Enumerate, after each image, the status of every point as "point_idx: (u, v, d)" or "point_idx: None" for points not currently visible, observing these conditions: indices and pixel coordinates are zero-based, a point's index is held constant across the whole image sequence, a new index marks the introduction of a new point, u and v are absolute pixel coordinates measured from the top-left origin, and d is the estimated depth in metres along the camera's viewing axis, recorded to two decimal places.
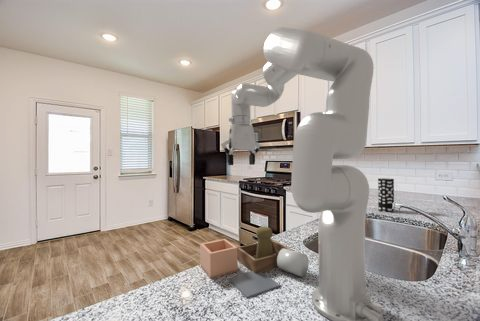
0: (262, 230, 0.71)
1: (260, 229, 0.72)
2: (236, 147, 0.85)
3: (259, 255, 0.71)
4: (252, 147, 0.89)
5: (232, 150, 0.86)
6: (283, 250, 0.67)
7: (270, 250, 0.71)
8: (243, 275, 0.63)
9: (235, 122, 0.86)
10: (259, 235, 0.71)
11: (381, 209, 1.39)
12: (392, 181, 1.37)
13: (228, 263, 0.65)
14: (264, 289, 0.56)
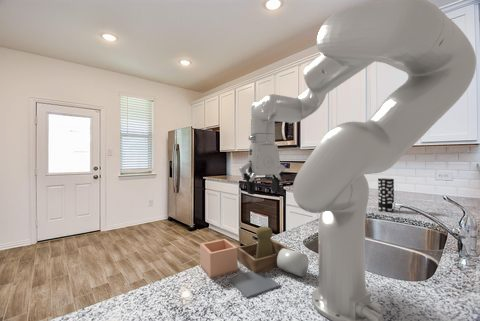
0: (262, 230, 0.71)
1: (260, 229, 0.72)
2: (258, 173, 0.69)
3: (259, 255, 0.71)
4: (277, 171, 0.72)
5: (253, 176, 0.69)
6: (283, 250, 0.67)
7: (270, 250, 0.71)
8: (243, 275, 0.63)
9: (257, 141, 0.70)
10: (259, 235, 0.71)
11: (381, 209, 1.39)
12: (392, 181, 1.37)
13: (228, 263, 0.65)
14: (264, 289, 0.56)
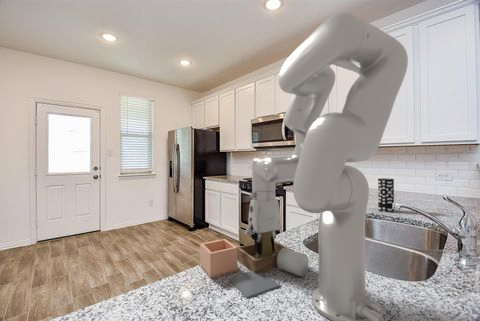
0: None
1: None
2: (259, 231, 0.69)
3: (259, 255, 0.71)
4: (278, 227, 0.72)
5: (259, 236, 0.70)
6: (283, 250, 0.67)
7: (270, 250, 0.71)
8: (243, 275, 0.63)
9: (257, 199, 0.70)
10: None
11: (381, 209, 1.39)
12: (392, 181, 1.37)
13: (228, 263, 0.65)
14: (264, 289, 0.56)
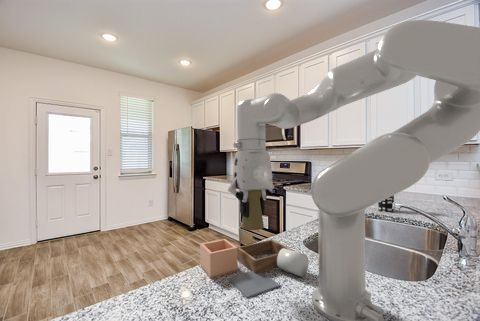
0: None
1: None
2: (245, 187, 0.56)
3: (245, 218, 0.58)
4: (268, 185, 0.59)
5: (245, 194, 0.58)
6: (283, 250, 0.67)
7: (259, 212, 0.59)
8: (243, 275, 0.63)
9: (243, 149, 0.57)
10: None
11: (381, 209, 1.39)
12: None
13: (228, 263, 0.65)
14: (264, 289, 0.56)
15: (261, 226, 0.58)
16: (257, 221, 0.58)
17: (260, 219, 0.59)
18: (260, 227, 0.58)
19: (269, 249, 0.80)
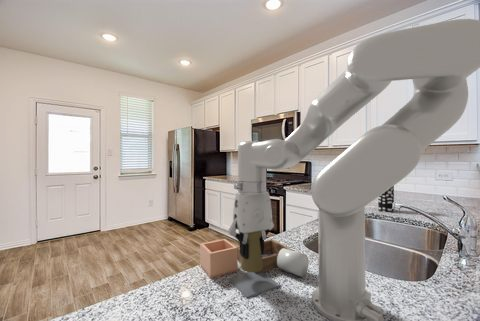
0: None
1: None
2: (245, 231, 0.56)
3: (245, 259, 0.59)
4: (268, 226, 0.60)
5: (245, 236, 0.58)
6: (283, 250, 0.67)
7: (258, 253, 0.59)
8: (243, 275, 0.63)
9: (244, 191, 0.57)
10: None
11: (381, 209, 1.39)
12: None
13: (228, 263, 0.65)
14: (264, 289, 0.56)
15: (260, 267, 0.59)
16: (256, 263, 0.58)
17: (260, 260, 0.59)
18: (259, 268, 0.58)
19: (269, 249, 0.80)
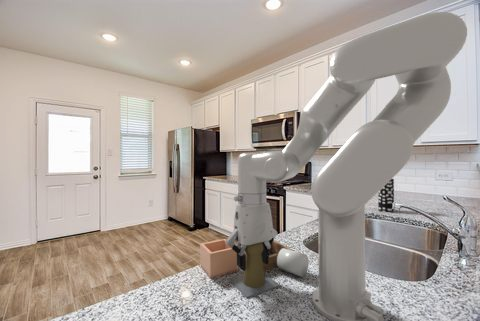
0: None
1: None
2: (246, 243, 0.56)
3: (247, 274, 0.58)
4: (269, 237, 0.59)
5: (243, 248, 0.57)
6: (283, 250, 0.67)
7: (260, 268, 0.59)
8: (243, 275, 0.63)
9: (244, 203, 0.57)
10: (247, 250, 0.58)
11: (381, 209, 1.39)
12: (392, 181, 1.37)
13: (228, 263, 0.65)
14: (264, 289, 0.56)
15: (262, 282, 0.58)
16: (258, 278, 0.58)
17: (262, 275, 0.59)
18: (261, 283, 0.58)
19: (269, 249, 0.80)
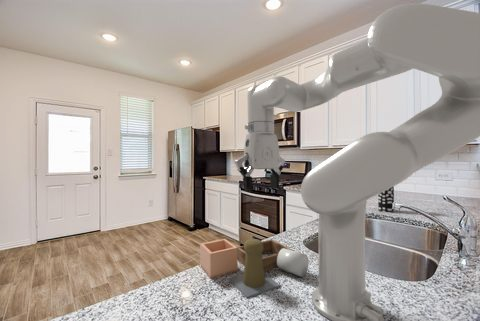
0: (251, 244, 0.58)
1: (248, 243, 0.59)
2: (256, 166, 0.60)
3: (247, 274, 0.58)
4: (277, 165, 0.64)
5: (250, 170, 0.61)
6: (283, 250, 0.67)
7: (260, 268, 0.59)
8: (243, 275, 0.63)
9: (254, 130, 0.61)
10: (247, 250, 0.58)
11: (381, 209, 1.39)
12: None
13: (228, 263, 0.65)
14: (264, 289, 0.56)
15: (263, 282, 0.58)
16: (258, 278, 0.58)
17: (262, 275, 0.59)
18: (261, 283, 0.58)
19: (269, 249, 0.80)
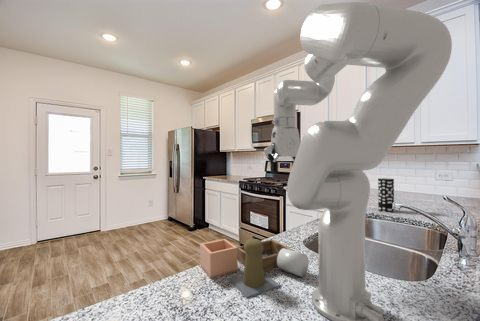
0: (251, 244, 0.58)
1: (248, 243, 0.59)
2: (282, 153, 0.74)
3: (247, 274, 0.58)
4: None
5: (276, 157, 0.75)
6: (283, 250, 0.67)
7: (260, 268, 0.59)
8: (243, 275, 0.63)
9: (280, 124, 0.76)
10: (247, 250, 0.58)
11: (381, 209, 1.39)
12: (392, 181, 1.37)
13: (228, 263, 0.65)
14: (264, 289, 0.56)
15: (263, 282, 0.58)
16: (258, 278, 0.58)
17: (262, 275, 0.59)
18: (261, 283, 0.58)
19: (269, 249, 0.80)
